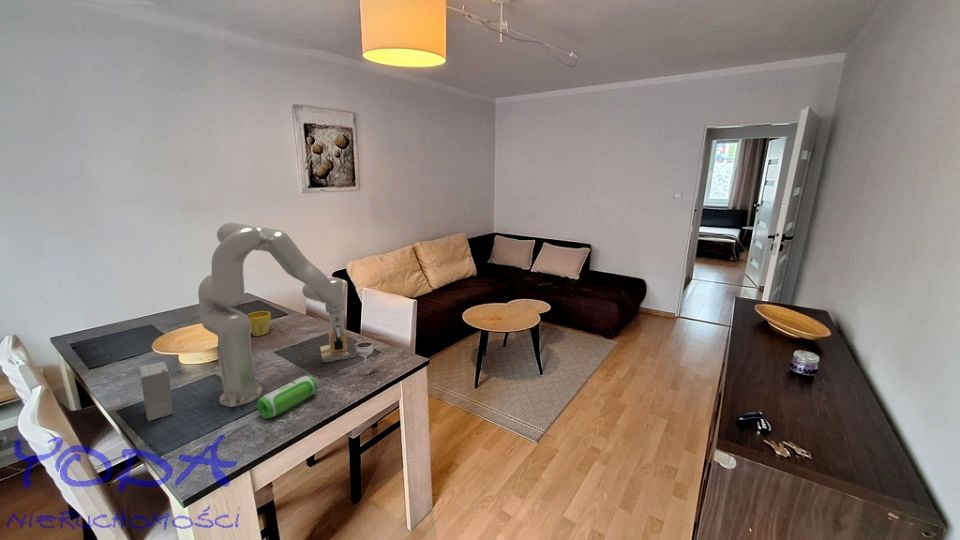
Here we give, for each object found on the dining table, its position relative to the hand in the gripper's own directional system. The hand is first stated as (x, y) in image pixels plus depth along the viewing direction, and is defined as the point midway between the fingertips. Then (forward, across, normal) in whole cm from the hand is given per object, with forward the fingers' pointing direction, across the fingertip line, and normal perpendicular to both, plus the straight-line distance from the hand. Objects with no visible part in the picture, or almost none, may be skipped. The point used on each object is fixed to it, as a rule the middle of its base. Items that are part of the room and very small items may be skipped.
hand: (338, 345), depth 161 cm
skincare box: (+4, -21, +56) cm, 60 cm away
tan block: (+1, 0, 0) cm, 1 cm away
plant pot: (+4, +37, +32) cm, 49 cm away
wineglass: (+4, -21, -8) cm, 23 cm away
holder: (+4, 0, 0) cm, 4 cm away
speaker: (+4, -33, +19) cm, 39 cm away
